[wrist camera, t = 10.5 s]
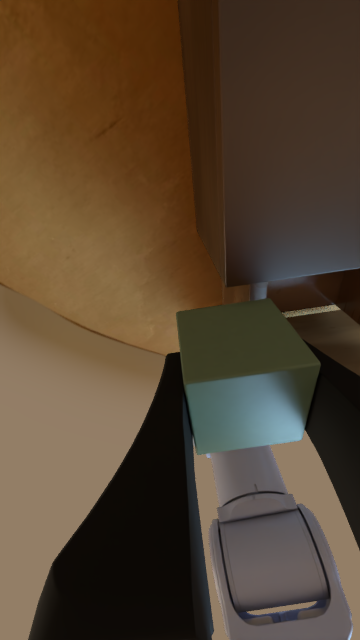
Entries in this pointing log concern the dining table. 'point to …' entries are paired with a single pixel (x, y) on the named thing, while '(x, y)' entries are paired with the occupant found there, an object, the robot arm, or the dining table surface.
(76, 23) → the dining table surface
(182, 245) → the dining table surface
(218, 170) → the cabinet
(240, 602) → the robot arm
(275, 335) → the block
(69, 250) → the dining table surface
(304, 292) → the drawer
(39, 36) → the dining table surface
